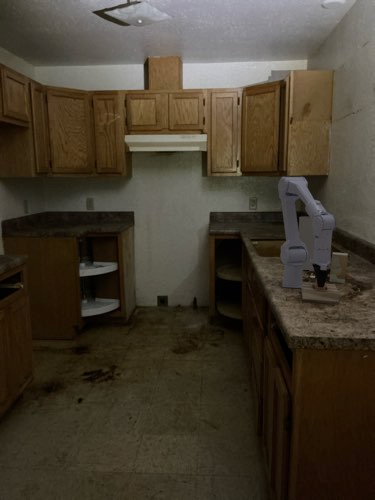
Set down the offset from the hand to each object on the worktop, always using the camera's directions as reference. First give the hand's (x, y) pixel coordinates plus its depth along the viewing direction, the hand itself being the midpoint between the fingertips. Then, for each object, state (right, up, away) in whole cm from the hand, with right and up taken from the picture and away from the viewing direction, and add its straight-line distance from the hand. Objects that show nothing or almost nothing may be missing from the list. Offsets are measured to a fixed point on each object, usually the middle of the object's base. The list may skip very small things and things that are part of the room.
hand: (319, 285), depth 139 cm
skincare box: (+16, -1, +24) cm, 29 cm away
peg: (0, -4, +1) cm, 4 cm away
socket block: (0, -5, +1) cm, 5 cm away
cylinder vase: (+12, +3, +48) cm, 49 cm away
